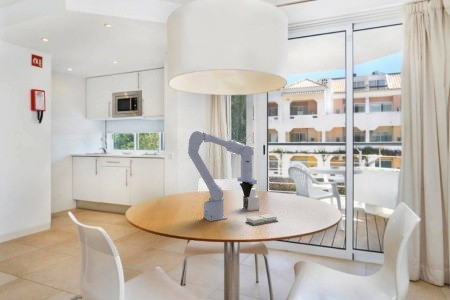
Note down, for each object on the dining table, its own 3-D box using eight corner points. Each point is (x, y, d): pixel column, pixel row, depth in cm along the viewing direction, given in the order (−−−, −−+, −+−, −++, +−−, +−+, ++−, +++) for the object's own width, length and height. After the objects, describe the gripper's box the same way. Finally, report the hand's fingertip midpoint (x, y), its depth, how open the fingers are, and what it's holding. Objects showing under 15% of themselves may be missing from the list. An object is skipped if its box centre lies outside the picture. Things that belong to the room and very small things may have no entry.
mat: (253, 225, 126) (253, 225, 126) (245, 222, 132) (245, 221, 132) (278, 221, 133) (278, 220, 133) (269, 218, 139) (269, 217, 139)
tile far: (258, 218, 137) (266, 221, 131) (258, 215, 137) (266, 218, 131) (268, 217, 139) (276, 220, 134) (268, 213, 139) (276, 216, 134)
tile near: (246, 220, 133) (253, 223, 128) (246, 217, 133) (253, 220, 128) (256, 219, 136) (264, 222, 131) (256, 215, 136) (264, 218, 131)
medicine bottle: (243, 208, 162) (242, 187, 162) (254, 207, 164) (254, 186, 164) (247, 210, 155) (247, 188, 155) (259, 209, 158) (259, 188, 157)
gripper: (261, 170, 137) (262, 198, 137) (245, 168, 150) (245, 194, 150) (249, 171, 134) (249, 200, 134) (233, 169, 146) (234, 195, 147)
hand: (246, 197), depth 142 cm, fingers closed
